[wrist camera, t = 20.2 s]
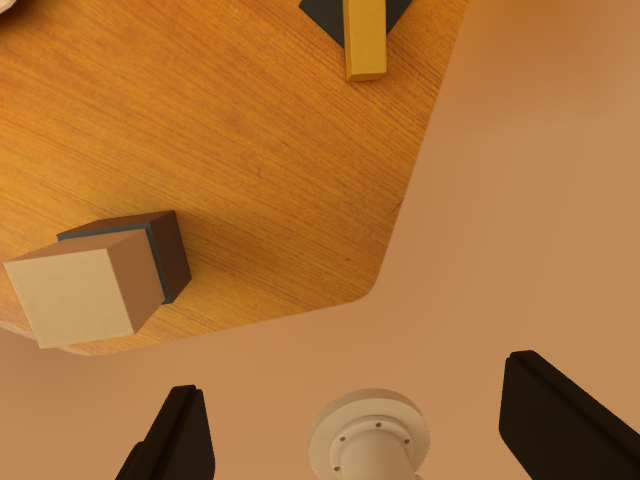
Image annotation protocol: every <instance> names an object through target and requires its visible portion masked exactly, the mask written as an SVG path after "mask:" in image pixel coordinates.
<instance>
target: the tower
mask: <svg viewBox="0 0 640 480" xmlns="http://www.w3.org/2000/svg"><path fill="white" fill-rule="evenodd" d="M57 238H58V242H56V243H53V244H51V245H48V246H45V247H43V248H40V249H37V250H35V251H32V252H30V253H27V254H24V255H22V256H19V257H16V258H14V259H11V260H9V261H6V262H4V263H3V264H4V267H5V269H6V271H7V274H8V276H9V278H10V280H11V283H12V285H13V287H14V290H15V292H16V294H17V297H18V299H19V301H20V303H21V306H22V308H23V310H24V313H25V315H26V317H27V319H28V322H29V324H30V326H31V329H32V331H33V333H34V336H35V338H36V340H37V342H38V345H39V347H40V349H44V348H51V347H58V346H65V345H71V344H78V343H84V342H91V341H98V340H104V339H111V338H117V337H124V336H131V335H135V334H136V333H137V332H138V330H139V329H140V328H141V327H142V326H143V325H144V324H145V322H146V321H147V320H148V319H149V318H150V317H151V315H152V314H153V313H154V312H155V311H156V310H157V308H158V307H159V306H160V305H163V304H170V303H173V302H174V300H175V299H176V298H177V297H178V295H179V294H180V293H181V292H182V290H183V289H184V288H185V286H186V285H187V284H188V283H189V281H190V280H191V279H192V278H191V274H190V270H189V266H188V263H187V259H186V255H185V251H184V247H183V243H182V239H181V235H180V231H179V227H178V224H177V220H176V216H175V212H174V210H170V211H163V212H155V213H148V214H140V215H133V216H125V217H118V218H110V219H103V220H97V221H94V222H91V223H88V224H85V225H82V226H79V227H77V228H74V229H71V230H68V231H65V232H62V233H59V234H57Z"/></svg>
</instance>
